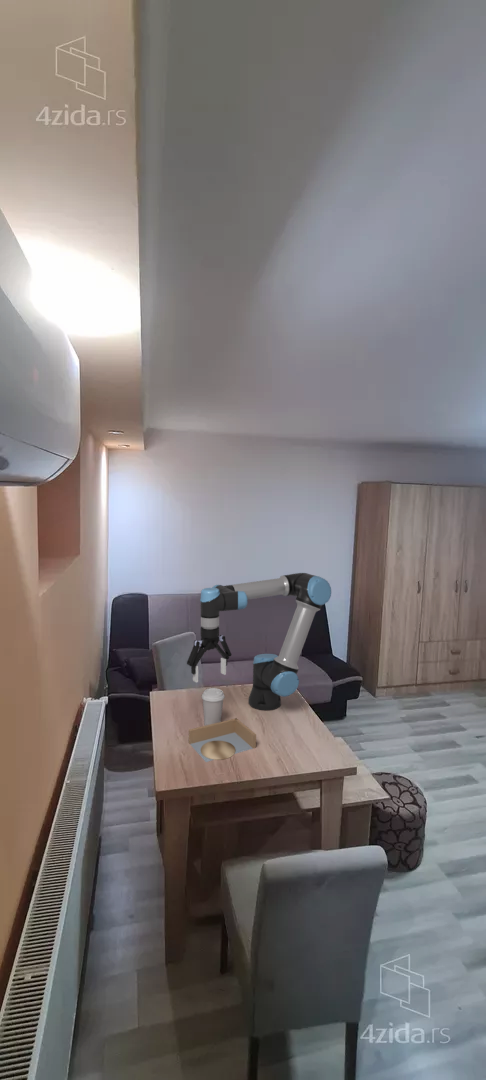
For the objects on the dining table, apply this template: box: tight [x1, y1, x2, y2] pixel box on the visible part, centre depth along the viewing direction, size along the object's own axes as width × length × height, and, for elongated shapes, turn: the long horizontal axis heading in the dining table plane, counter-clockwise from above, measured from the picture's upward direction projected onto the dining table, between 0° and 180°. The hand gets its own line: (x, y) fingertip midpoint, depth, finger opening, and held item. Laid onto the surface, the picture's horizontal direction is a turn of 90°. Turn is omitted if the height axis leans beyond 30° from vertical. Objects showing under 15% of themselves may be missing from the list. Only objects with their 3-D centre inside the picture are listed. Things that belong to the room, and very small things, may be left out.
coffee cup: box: [201, 687, 226, 726], centre depth 191 cm, size 10×10×15 cm
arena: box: [188, 717, 257, 763], centre depth 176 cm, size 21×15×6 cm
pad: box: [201, 741, 235, 761], centre depth 173 cm, size 13×13×1 cm
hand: (209, 677), depth 188 cm, fingers open, 13 cm apart
